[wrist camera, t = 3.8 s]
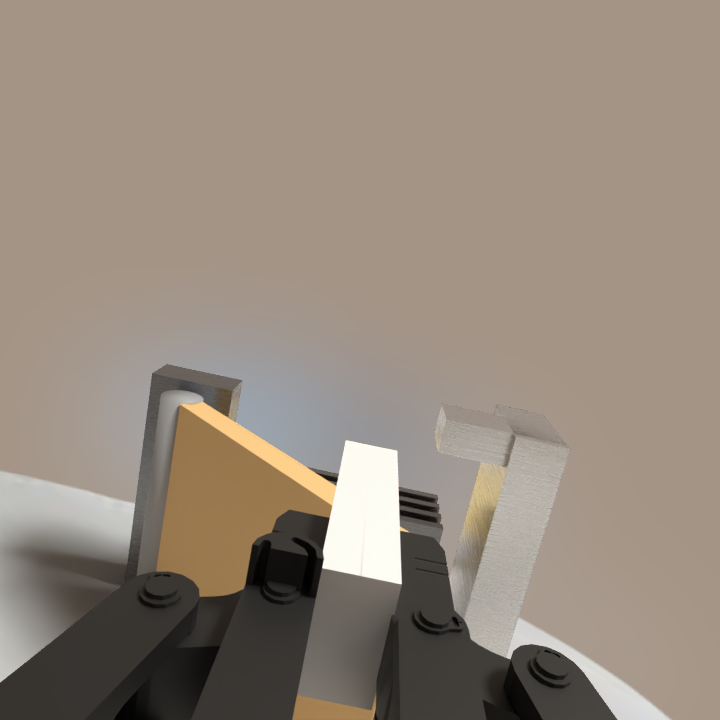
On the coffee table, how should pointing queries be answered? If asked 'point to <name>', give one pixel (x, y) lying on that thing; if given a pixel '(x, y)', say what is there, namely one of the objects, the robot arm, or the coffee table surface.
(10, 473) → the coffee table surface
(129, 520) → the coffee table surface
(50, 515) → the coffee table surface
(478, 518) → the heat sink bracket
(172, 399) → the orange wooden board
